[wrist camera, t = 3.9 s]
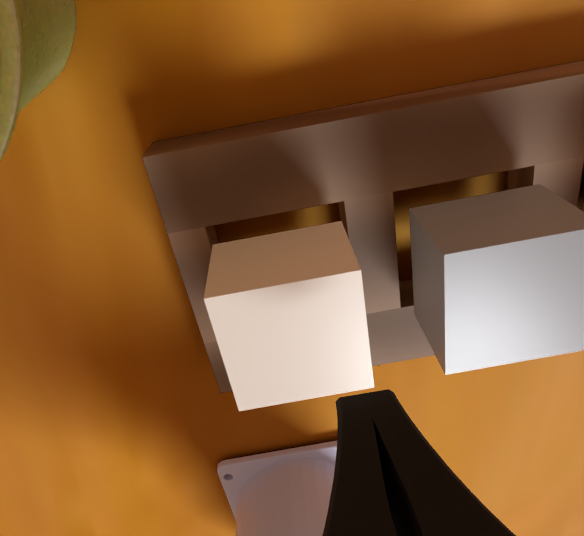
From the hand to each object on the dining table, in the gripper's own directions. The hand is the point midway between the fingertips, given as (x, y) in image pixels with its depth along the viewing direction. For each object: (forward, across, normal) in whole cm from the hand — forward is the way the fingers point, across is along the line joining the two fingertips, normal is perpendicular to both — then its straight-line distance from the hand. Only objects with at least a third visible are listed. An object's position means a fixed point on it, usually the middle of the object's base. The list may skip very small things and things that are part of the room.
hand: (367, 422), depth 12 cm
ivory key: (+7, +1, 0) cm, 7 cm away
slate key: (+7, -5, 0) cm, 9 cm away
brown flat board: (+10, -5, 0) cm, 11 cm away
